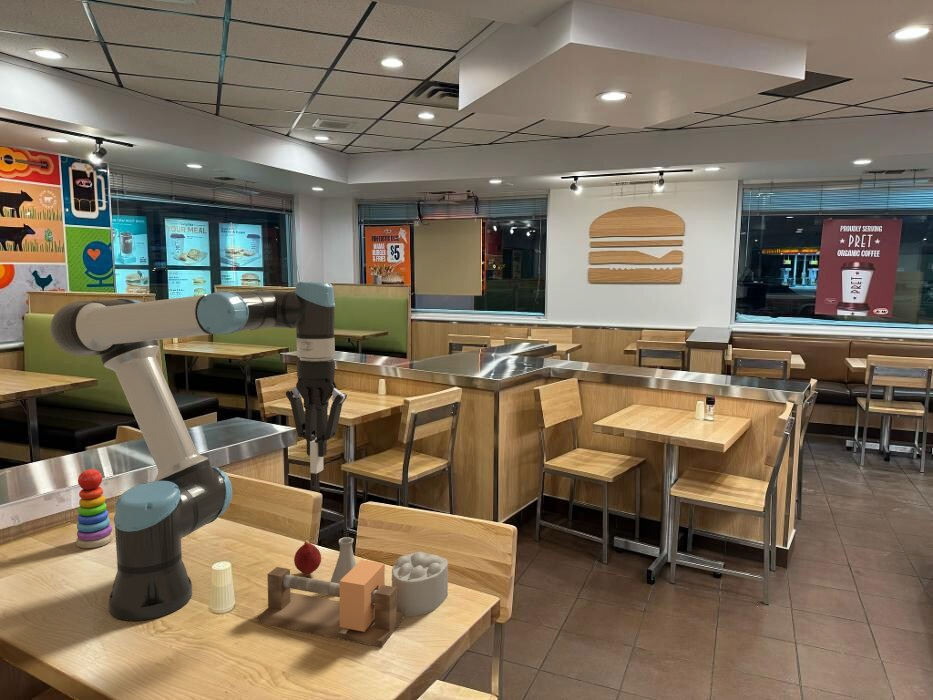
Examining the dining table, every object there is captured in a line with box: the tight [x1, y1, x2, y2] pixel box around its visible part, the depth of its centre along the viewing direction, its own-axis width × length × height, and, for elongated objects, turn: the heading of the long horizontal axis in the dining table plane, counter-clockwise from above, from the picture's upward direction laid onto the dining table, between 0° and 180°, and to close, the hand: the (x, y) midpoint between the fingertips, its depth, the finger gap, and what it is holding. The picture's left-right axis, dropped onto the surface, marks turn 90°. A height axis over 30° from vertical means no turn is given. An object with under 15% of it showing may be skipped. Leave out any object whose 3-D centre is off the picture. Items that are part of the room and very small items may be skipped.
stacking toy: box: [75, 468, 114, 549], centre depth 152 cm, size 8×8×19 cm
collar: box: [339, 559, 386, 632], centre depth 118 cm, size 5×9×9 cm, turn 164°
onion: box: [293, 539, 322, 576], centre depth 139 cm, size 6×6×8 cm
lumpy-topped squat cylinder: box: [391, 551, 449, 617], centre depth 129 cm, size 10×13×9 cm
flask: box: [329, 536, 358, 584], centre depth 135 cm, size 7×7×10 cm
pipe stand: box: [257, 566, 404, 648], centre depth 120 cm, size 26×10×8 cm, turn 74°
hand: (316, 471), depth 128 cm, fingers closed
